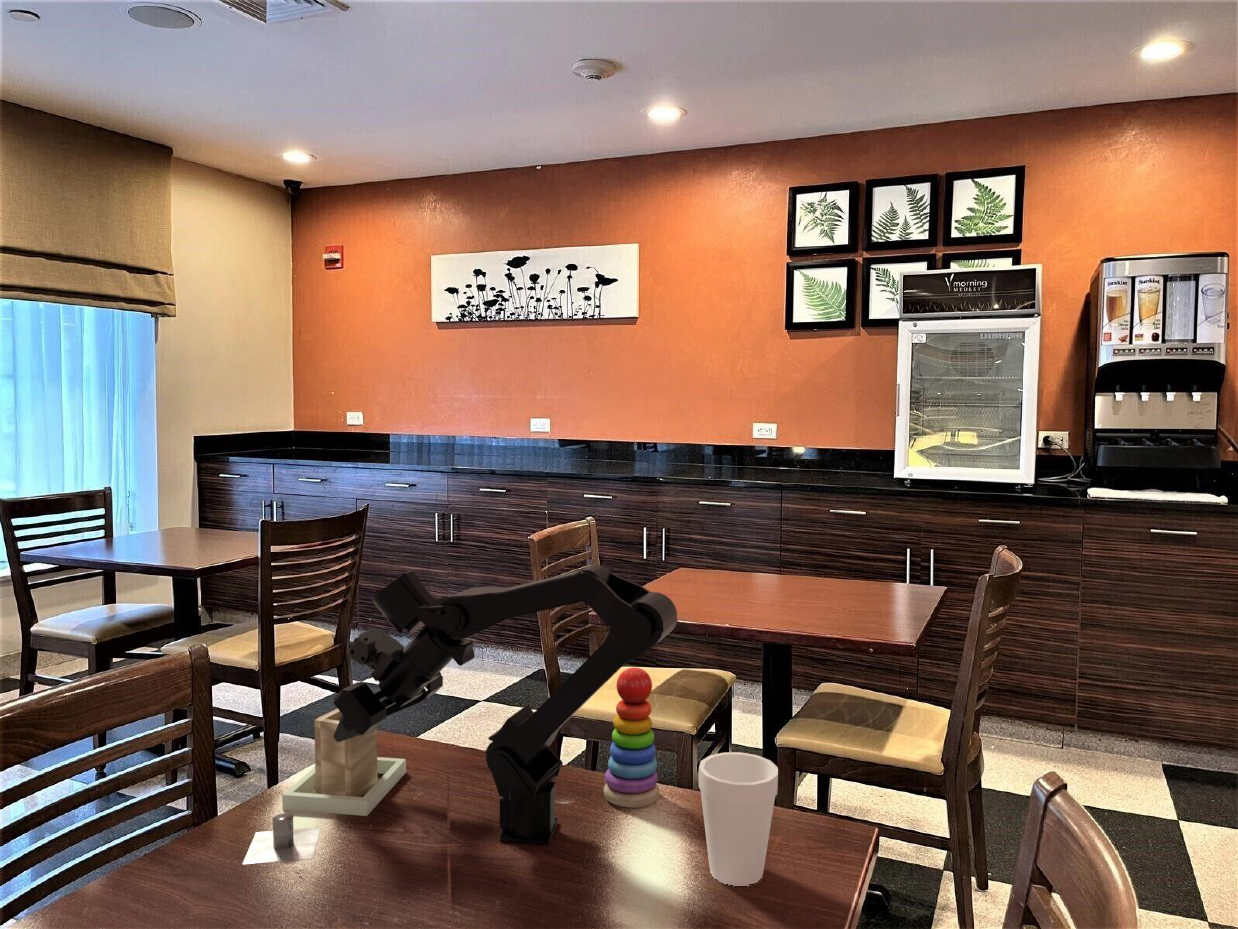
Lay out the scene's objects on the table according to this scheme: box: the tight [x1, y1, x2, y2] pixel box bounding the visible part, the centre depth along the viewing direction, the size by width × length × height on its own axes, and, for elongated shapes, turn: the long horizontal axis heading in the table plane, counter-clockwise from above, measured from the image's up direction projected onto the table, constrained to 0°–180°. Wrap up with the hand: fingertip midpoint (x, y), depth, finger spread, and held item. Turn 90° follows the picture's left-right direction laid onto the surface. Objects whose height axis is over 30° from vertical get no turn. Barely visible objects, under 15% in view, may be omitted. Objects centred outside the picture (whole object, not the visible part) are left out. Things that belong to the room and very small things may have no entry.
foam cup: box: [698, 751, 779, 887], centre depth 107 cm, size 10×9×13 cm
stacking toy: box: [603, 667, 661, 809], centre depth 127 cm, size 8×8×19 cm
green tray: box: [281, 756, 407, 817], centre depth 127 cm, size 12×14×3 cm
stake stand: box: [241, 812, 322, 866], centre depth 111 cm, size 8×8×4 cm
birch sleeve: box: [314, 707, 379, 797], centre depth 127 cm, size 8×6×11 cm
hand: (356, 727), depth 126 cm, fingers open, 9 cm apart
